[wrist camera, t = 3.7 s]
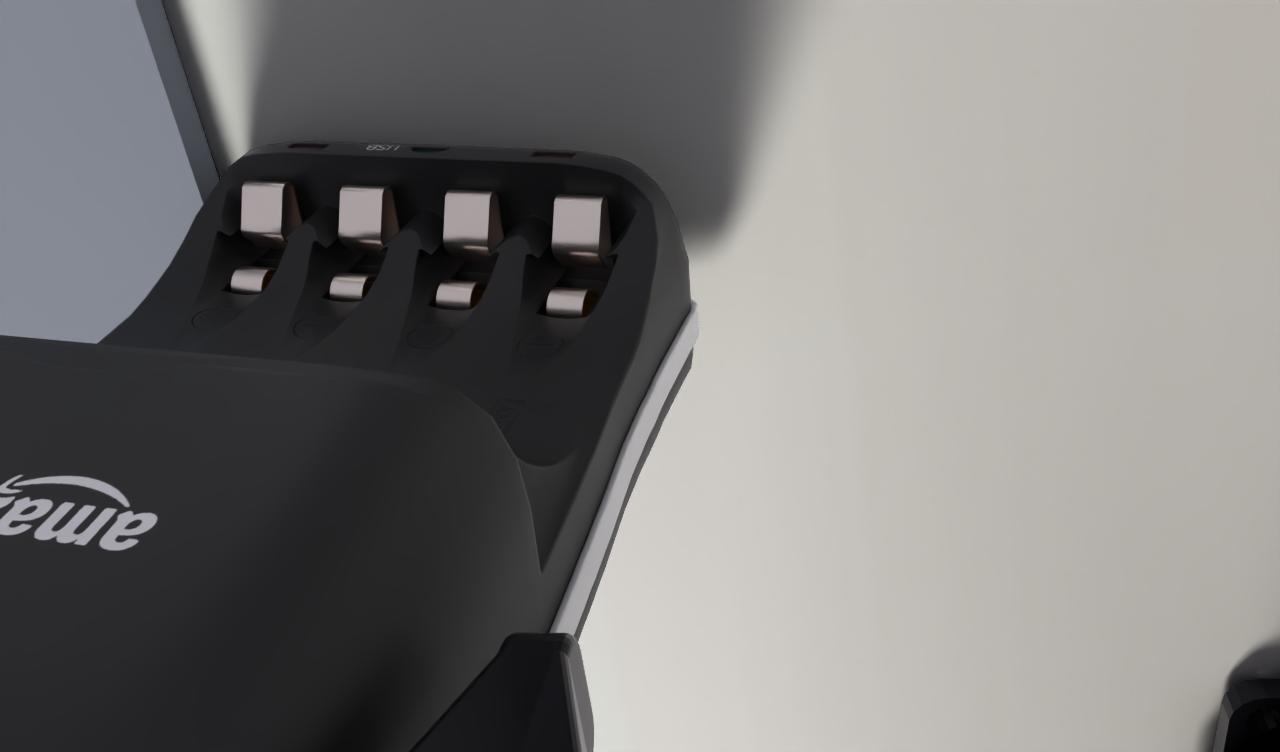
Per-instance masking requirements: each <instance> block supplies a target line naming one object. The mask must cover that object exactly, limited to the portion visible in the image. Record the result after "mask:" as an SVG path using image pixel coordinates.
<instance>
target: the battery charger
mask: <svg viewBox="0 0 1280 752" xmlns="http://www.w3.org/2000/svg"><path fill="white" fill-rule="evenodd" d="M698 332H699V321H698V304H697V303H696V302H695V301H693V300H692V299H691V297H690V279H689V261H688V257H687V253H686V250H685V247H684V244H683V241H682V236H681V232H680V228H679V224H678V221H677V219H676V217H675V215H674V213H673V210H672V208H671V206H670V204H669V202H668V200H667V198H666V197H665V195H664V193H663V191H662V190H661V189H660V188H659V186H658V185H657V184H656V182H655V181H654V180H653V179H652V178H650V177H649V176H648V175H647V174H646V173H645V172H644V171H642V170H641V169H639V168H638V167H636V166H635V165H633V164H632V163H631V162H628V161H625V160H622V159H619V158H616V157H611V156H606V155H600V154H593V153H587V152H579V151H566V150H544V149H519V148H495V147H471V146H446V145H416V144H381V143H346V142H289V143H279V144H270V145H266V146H263V147H260V148H257V149H254V150H251V151H249V152H247V153H246V154H245V155H244V156H242V157H241V158H240V159H238V160H237V161H236V162H235V163H233V164H232V165H231V166H230V167H229V168H228V170H227V171H226V172H225V174H224V175H223V177H222V178H221V179H220V181H219V182H218V183H217V185H216V186H215V188H214V189H213V190H212V192H211V193H210V195H209V196H208V198H207V199H206V201H205V202H204V204H203V206H202V207H201V209H200V210H199V212H198V213H197V215H196V216H195V218H194V220H193V222H192V224H191V226H190V228H189V231H188V233H187V234H186V236H185V238H184V240H183V242H182V244H181V246H180V248H179V249H178V251H177V253H176V255H175V256H174V258H173V260H172V261H171V263H170V265H169V266H168V268H167V269H166V270H165V272H164V273H163V275H162V276H161V277H160V279H159V280H158V282H157V283H156V284H155V286H154V287H153V288H152V290H151V291H150V292H149V294H148V295H147V296H146V298H145V299H144V300H143V301H142V302H141V304H140V305H139V306H138V307H137V308H136V309H135V310H134V312H133V313H132V314H131V315H130V316H129V317H128V318H126V319H125V320H124V321H123V322H122V323H121V324H119V325H118V326H117V327H116V328H115V329H114V330H112V331H111V332H110V333H109V334H108V335H106V336H105V337H104V338H103V339H102V340H101V341H99V342H98V343H97V344H95V343H84V342H73V341H61V340H50V339H39V338H28V337H17V336H6V335H0V752H409V751H410V750H411V749H412V748H413V747H414V745H415V744H416V743H417V742H418V741H419V740H420V739H421V738H422V737H423V736H424V734H425V733H426V732H427V731H428V730H429V729H430V728H431V727H432V726H433V724H434V723H435V722H436V721H437V720H438V719H439V718H440V717H441V716H442V714H443V713H444V712H445V711H446V710H447V709H448V708H449V707H450V706H451V704H452V703H453V702H454V701H455V700H456V699H457V698H458V697H459V696H460V694H461V693H462V692H463V691H464V690H465V689H466V688H467V687H468V686H469V685H470V683H471V682H472V681H473V680H474V679H475V678H476V677H477V676H478V675H479V673H480V672H481V671H482V670H483V669H484V668H485V667H486V666H487V665H488V663H489V662H490V661H491V660H492V659H493V658H494V657H495V656H496V655H497V653H498V651H499V649H500V647H501V645H502V643H503V641H504V640H505V638H506V637H508V636H509V635H510V634H512V633H515V632H533V633H568V634H571V635H572V636H574V637H575V638H576V640H577V642H578V640H579V637H580V635H581V632H582V629H583V626H584V624H585V621H586V619H587V616H588V613H589V611H590V608H591V605H592V602H593V600H594V597H595V594H596V591H597V588H598V586H599V583H600V580H601V578H602V575H603V572H604V570H605V567H606V564H607V561H608V558H609V555H610V552H611V549H612V546H613V543H614V540H615V537H616V534H617V531H618V528H619V525H620V522H621V519H622V517H623V514H624V511H625V508H626V505H627V503H628V501H629V498H630V496H631V493H632V491H633V488H634V486H635V484H636V481H637V479H638V476H639V474H640V472H641V469H642V467H643V465H644V463H645V461H646V459H647V457H648V455H649V452H650V450H651V448H652V446H653V444H654V442H655V440H656V437H657V435H658V433H659V430H660V428H661V426H662V423H663V421H664V419H665V417H666V415H667V413H668V411H669V409H670V407H671V405H672V403H673V401H674V399H675V397H676V395H677V393H678V391H679V389H680V387H681V385H682V383H683V381H684V379H685V377H686V376H687V374H688V372H689V370H690V369H691V364H692V357H693V346H694V344H695V342H696V340H697V339H698Z"/></svg>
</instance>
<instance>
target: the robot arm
mask: <svg viewBox="0 0 1280 752" xmlns="http://www.w3.org/2000/svg"><path fill="white" fill-rule="evenodd" d="M1262 709H1265V710H1263V711H1260V712H1255V711H1256V710H1262ZM1253 712H1254V713H1253ZM593 747H594V722H593V713H592V708H591V702H590V697H589V692H588V687H587V681H586V676H585V671H584V666H583V660H582V655H581V650H580V646H579V644H578V642H577V640H576V638H575V637H574V636H572V635H571V634H568V633H533V632H515V633H512V634H510V635H509V636H508V637H506V638H505V640H504V641H503V643H502V645H501V647H500V649H499V651H498V653H497V655H496V656H495V657H494V658H493V659H492V660H491V661H490V662H489V663H488V665H487V666H486V667H485V668H484V669H483V670H482V671H481V672H480V673H479V675H478V676H477V677H476V678H475V679H474V680H473V681H472V682H471V683H470V685H469V686H468V687H467V688H466V689H465V690H464V691H463V692H462V693H461V694H460V696H459V697H458V698H457V699H456V700H455V701H454V702H453V703H452V704H451V706H450V707H449V708H448V709H447V710H446V711H445V712H444V713H443V714H442V716H441V717H440V718H439V719H438V720H437V721H436V722H435V723H434V724H433V726H432V727H431V728H430V729H429V730H428V731H427V732H426V733H425V734H424V736H423V737H422V738H421V739H420V740H419V741H418V742H417V743H416V744H415V745H414V747H413V748H412V749H411V750H410V751H409V752H593ZM1213 752H1280V679H1256V680H1248V681H1244V682H1242V683H1240V684H1237V685H1235V686H1233V687H1232V688H1231V689H1230V690H1229V691H1227V692H1226V694H1225V696H1224V698H1223V700H1222V703H1221V708H1220V714H1219V719H1218V725H1217V730H1216V736H1215V741H1214V747H1213Z"/></svg>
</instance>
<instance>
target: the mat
mask: <svg viewBox="0 0 1280 752" xmlns="http://www.w3.org/2000/svg"><path fill="white" fill-rule="evenodd" d="M219 181H220V180H219V177H218V174H217V171H216V168H215V165H214V162H213V158H212V155H211V152H210V149H209V146H208V143H207V140H206V137H205V134H204V131H203V128H202V125H201V121H200V118H199V115H198V112H197V109H196V106H195V103H194V100H193V97H192V94H191V91H190V88H189V85H188V81H187V78H186V75H185V72H184V69H183V66H182V63H181V60H180V57H179V54H178V51H177V48H176V44H175V41H174V38H173V35H172V32H171V29H170V26H169V23H168V20H167V17H166V14H165V11H164V7H163V4H162V1H161V0H0V335H6V336H17V337H28V338H39V339H50V340H61V341H73V342H84V343H95V344H97V343H98V342H99V341H101V340H102V339H103V338H104V337H105V336H106V335H108V334H109V333H110V332H111V331H112V330H114V329H115V328H116V327H117V326H118V325H119V324H121V323H122V322H123V321H124V320H125V319H126V318H128V317H129V316H130V315H131V314H132V313H133V312H134V310H135V309H136V308H137V307H138V306H139V305H140V304H141V302H142V301H143V300H144V299H145V298H146V296H147V295H148V294H149V292H150V291H151V290H152V288H153V287H154V286H155V284H156V283H157V282H158V280H159V279H160V277H161V276H162V275H163V273H164V272H165V270H166V269H167V268H168V266H169V265H170V263H171V261H172V260H173V258H174V256H175V255H176V253H177V251H178V249H179V248H180V246H181V244H182V242H183V240H184V238H185V236H186V234H187V233H188V231H189V228H190V226H191V224H192V222H193V220H194V218H195V216H196V215H197V213H198V212H199V210H200V209H201V207H202V206H203V204H204V202H205V201H206V199H207V198H208V196H209V195H210V193H211V192H212V190H213V189H214V188H215V186H216V185H217V183H218V182H219Z"/></svg>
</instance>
